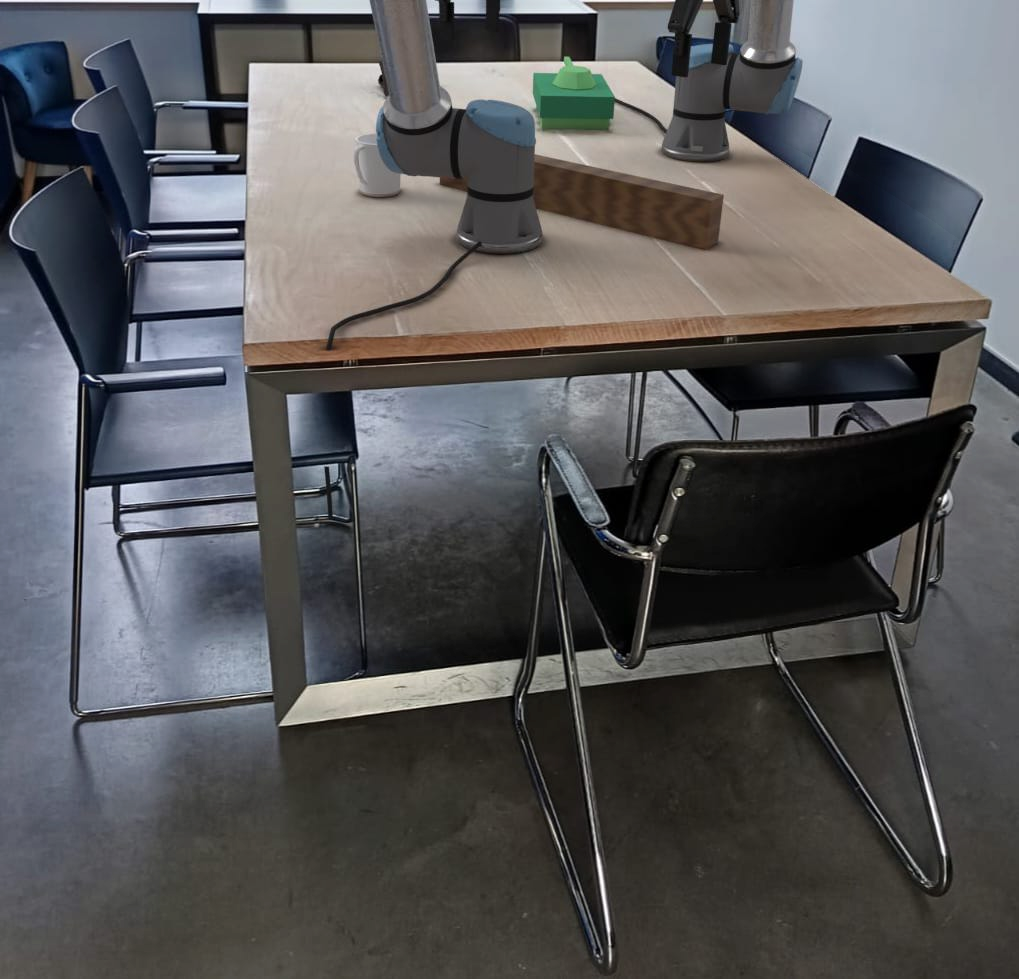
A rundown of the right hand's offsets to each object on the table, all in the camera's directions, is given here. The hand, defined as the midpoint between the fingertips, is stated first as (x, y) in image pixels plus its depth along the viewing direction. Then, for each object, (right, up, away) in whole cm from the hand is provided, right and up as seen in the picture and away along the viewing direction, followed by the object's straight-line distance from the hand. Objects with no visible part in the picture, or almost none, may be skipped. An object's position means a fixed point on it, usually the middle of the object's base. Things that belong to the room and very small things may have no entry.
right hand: (699, 70), depth 183 cm
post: (-20, -17, +28) cm, 38 cm away
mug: (-59, -11, +35) cm, 69 cm away
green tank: (-17, +25, +95) cm, 100 cm away
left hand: (-39, +16, +25) cm, 49 cm away
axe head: (-61, +39, +117) cm, 138 cm away
